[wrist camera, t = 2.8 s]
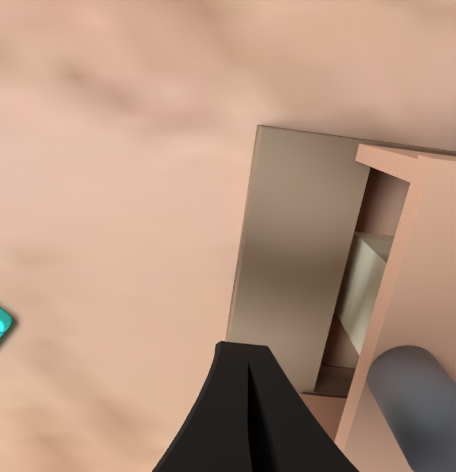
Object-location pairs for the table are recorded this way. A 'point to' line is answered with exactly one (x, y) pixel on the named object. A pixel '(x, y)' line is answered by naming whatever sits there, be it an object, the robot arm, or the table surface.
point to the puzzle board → (299, 249)
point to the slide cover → (406, 333)
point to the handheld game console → (4, 322)
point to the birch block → (362, 283)
